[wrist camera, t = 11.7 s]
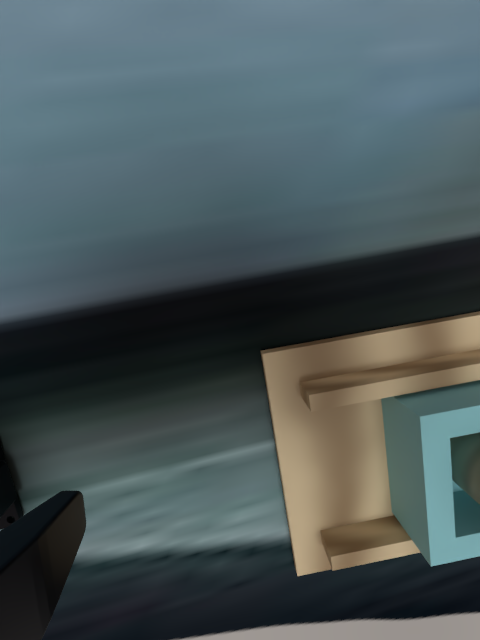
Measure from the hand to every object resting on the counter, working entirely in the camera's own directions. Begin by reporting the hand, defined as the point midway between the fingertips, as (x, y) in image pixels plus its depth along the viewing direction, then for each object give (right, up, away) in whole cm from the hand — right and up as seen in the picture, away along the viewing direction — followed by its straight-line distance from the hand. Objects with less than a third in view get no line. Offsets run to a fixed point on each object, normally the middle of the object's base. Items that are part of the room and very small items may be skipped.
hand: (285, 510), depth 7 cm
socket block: (+13, -4, +14) cm, 19 cm away
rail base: (+11, -4, +15) cm, 19 cm away
